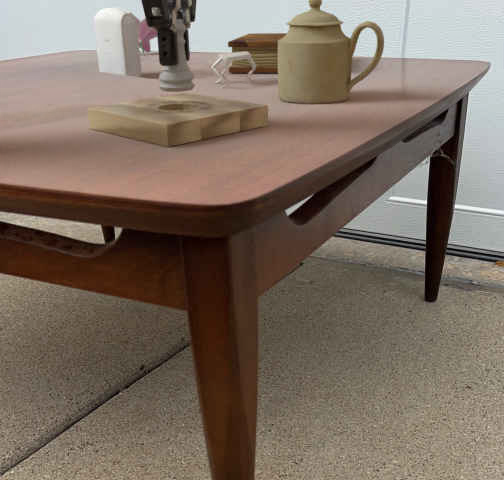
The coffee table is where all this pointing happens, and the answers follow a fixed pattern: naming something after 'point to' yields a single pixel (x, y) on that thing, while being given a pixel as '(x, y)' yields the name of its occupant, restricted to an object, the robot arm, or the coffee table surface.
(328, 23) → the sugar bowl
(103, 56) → the tombstone
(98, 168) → the coffee table surface
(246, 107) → the pad
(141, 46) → the lily
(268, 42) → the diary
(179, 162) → the coffee table surface
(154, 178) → the coffee table surface
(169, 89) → the rook chess piece
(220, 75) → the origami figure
